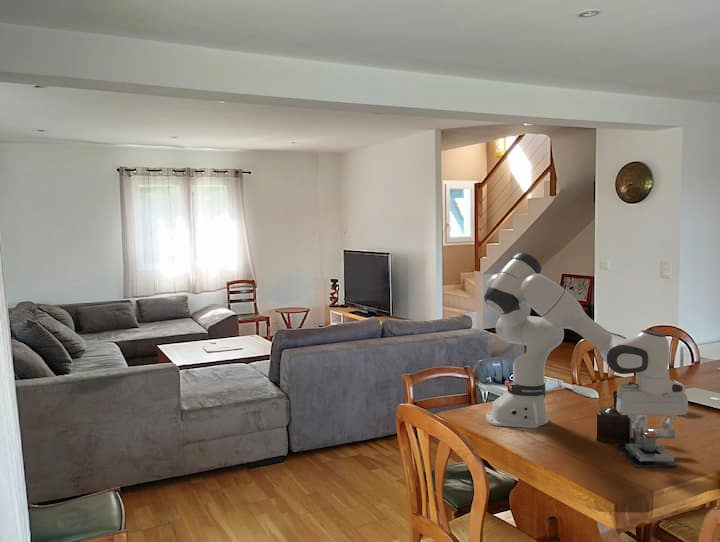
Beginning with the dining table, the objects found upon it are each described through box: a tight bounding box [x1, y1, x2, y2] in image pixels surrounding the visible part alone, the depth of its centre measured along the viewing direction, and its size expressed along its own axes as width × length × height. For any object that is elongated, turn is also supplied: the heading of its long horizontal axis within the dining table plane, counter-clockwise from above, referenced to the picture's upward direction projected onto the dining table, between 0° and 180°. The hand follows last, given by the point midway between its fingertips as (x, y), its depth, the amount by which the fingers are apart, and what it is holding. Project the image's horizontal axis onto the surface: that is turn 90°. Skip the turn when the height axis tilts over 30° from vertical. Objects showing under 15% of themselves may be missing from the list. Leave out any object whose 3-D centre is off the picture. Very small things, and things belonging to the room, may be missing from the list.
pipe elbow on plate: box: [615, 415, 678, 469], centre depth 184 cm, size 16×16×15 cm
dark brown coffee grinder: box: [596, 381, 636, 445], centre depth 203 cm, size 16×11×18 cm
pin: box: [643, 431, 657, 454], centre depth 182 cm, size 3×3×8 cm
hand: (651, 428), depth 182 cm, fingers open, 8 cm apart
